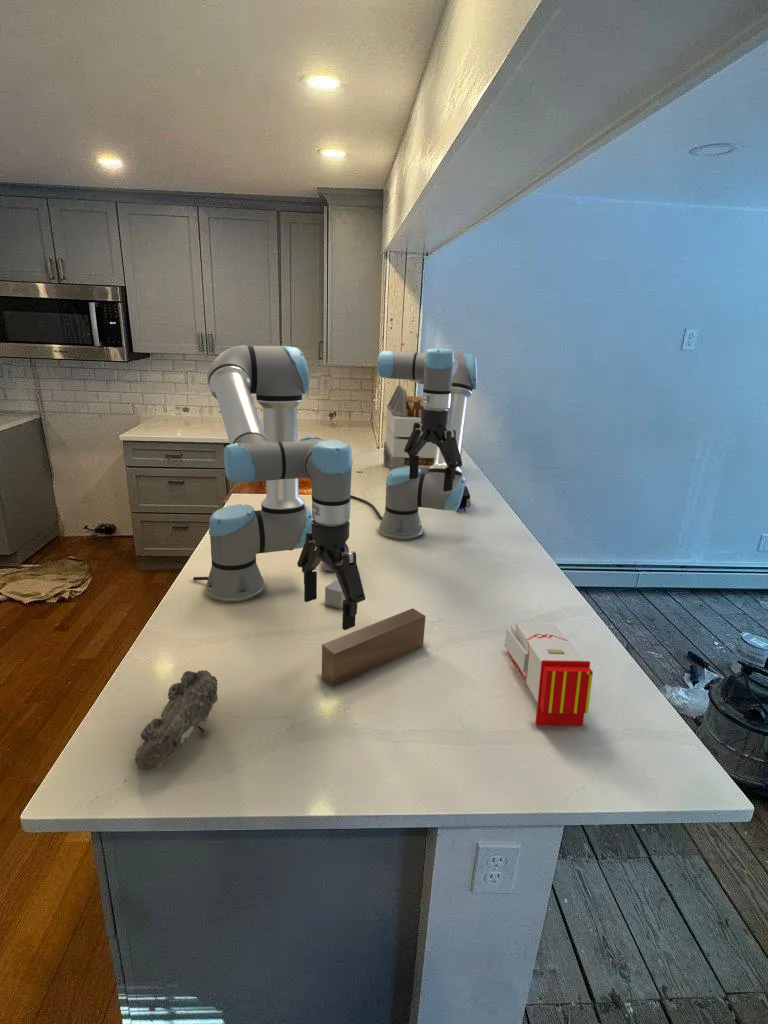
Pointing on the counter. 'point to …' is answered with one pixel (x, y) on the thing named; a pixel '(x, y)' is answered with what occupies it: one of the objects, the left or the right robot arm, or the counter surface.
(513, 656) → the toy
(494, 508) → the counter surface
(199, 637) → the counter surface
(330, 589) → the grey ceramic block
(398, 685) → the counter surface
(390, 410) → the white slatted box
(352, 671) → the walnut block
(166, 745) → the fossil
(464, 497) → the figurine character
